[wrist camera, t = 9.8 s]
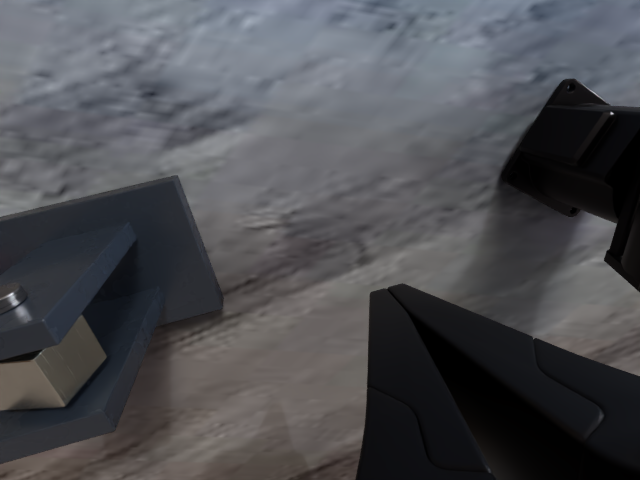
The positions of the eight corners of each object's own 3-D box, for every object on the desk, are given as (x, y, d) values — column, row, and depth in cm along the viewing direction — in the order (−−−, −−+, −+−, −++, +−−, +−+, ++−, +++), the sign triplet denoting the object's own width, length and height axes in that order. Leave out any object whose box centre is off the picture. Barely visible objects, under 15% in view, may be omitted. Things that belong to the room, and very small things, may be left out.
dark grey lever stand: (60, 341, 22) (-70, 518, 13) (-18, 221, 19) (-263, 347, 10) (224, 298, 23) (207, 436, 14) (177, 174, 19) (115, 252, 10)
